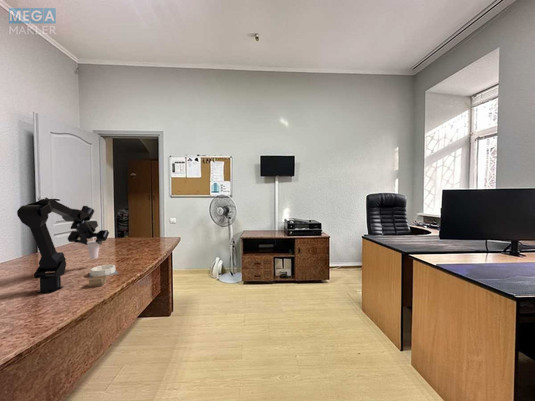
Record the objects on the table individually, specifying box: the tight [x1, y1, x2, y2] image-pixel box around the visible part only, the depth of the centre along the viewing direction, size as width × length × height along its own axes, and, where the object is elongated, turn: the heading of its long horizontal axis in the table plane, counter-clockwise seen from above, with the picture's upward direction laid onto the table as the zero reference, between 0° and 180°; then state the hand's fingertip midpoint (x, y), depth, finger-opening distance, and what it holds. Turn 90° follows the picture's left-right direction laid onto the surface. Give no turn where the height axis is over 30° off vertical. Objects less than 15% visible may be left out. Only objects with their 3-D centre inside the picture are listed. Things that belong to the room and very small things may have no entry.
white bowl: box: [89, 264, 116, 277], centre depth 126 cm, size 11×11×3 cm
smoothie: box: [87, 237, 100, 260], centre depth 137 cm, size 6×6×14 cm
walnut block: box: [88, 275, 107, 288], centre depth 109 cm, size 5×5×4 cm
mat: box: [87, 268, 119, 279], centre depth 126 cm, size 12×12×1 cm
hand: (95, 244), depth 138 cm, fingers closed on smoothie, 6 cm apart
